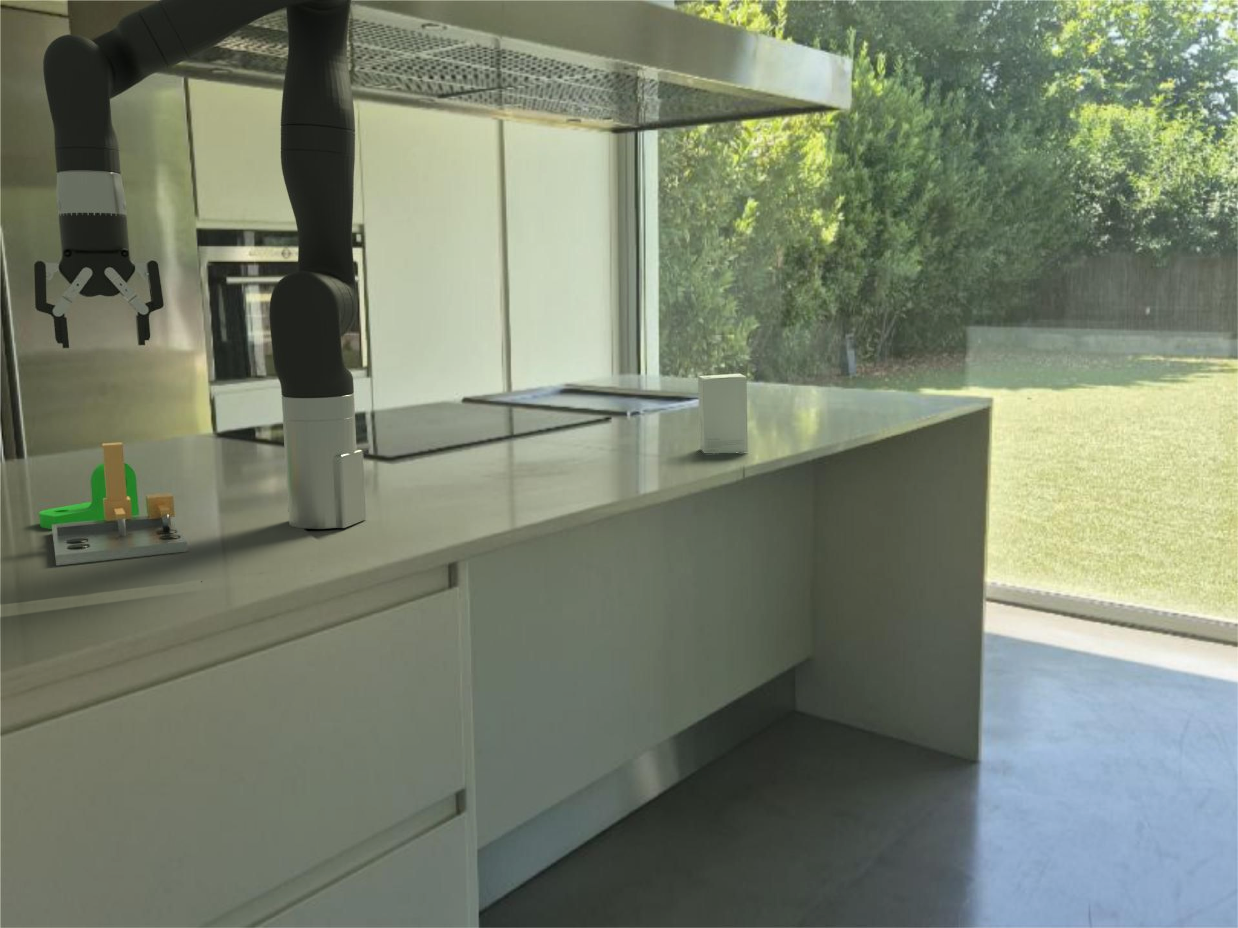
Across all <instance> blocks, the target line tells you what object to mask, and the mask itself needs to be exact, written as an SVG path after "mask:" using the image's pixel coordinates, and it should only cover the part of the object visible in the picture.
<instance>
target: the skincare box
mask: <svg viewBox="0 0 1238 928" xmlns="http://www.w3.org/2000/svg"><path fill="white" fill-rule="evenodd" d="M747 383H748V376H745V375H744V374H741V373H729V374H727V373H726V374H714V375H713V374H712V375H698V376H697V384H698V385H697V387H698V390H697V391H698V393H697V394H698V395H697V397H698V421H699V450H700V449H701V450H702V451H703V452H705V453H714V454H713V455H716V454H715V453H736V452H748V453H749V443H748V442H749V437H748V436H749V433H748V432H749V431H748V391H747V390H748V387H747V386H748V384H747ZM701 450H700V451H701ZM702 451H701V452H702ZM703 452H702V453H703Z"/></svg>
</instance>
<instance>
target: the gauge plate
mask: <svg viewBox="0 0 1238 928" xmlns="http://www.w3.org/2000/svg"><path fill="white" fill-rule="evenodd" d="M145 502H146V504H145V505H146V515H136V516H132V519H126V520H125V526H126V535H124V536H119V529H118V521H117V520H111V521H106V520H94V521H84V522H73V523H63V524H52V529H51V531H52V532H51V533H52V542H53V547H54V548H53V549H54V557H55V565H56V566H58V567H59V566H65V565H66V566H67V565H68V566H69V565H75V564H84V563H85V564H87V563H92V562H102V561H104V562H105V561H112V560H121V559H122V560H123V559H130V558H140V557H141V558H142V557H148V556H157V555H165V554H177V553H185V552H188V540H186V538H185V537H184V535H183V533H182V531H180V529H179V528H178V526H177V525H176V523H175V522H174V520H173V519H172V518H174V517H175V516H176V515H175V514H176V513H175V503H174V502H175V500H174V495H173V493H172V492H164V493H152V494H146V495H145Z"/></svg>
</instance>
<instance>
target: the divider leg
mask: <svg viewBox="0 0 1238 928" xmlns="http://www.w3.org/2000/svg"><path fill="white" fill-rule="evenodd" d="M123 445H124V444H123V443H122V441H121V442H109V443H108V442H107V443H101V447H102V459H103V462H104V473H105V485H106V497H107V498H103V504H104V516H105V520H106V521H111V520H117V521H118V529H119V536H124V535H126V526H125V520H126V519H132V517H133V516H132V511H131V499H130V498H129V496H127V494H126V481H125V469H124V463H125V459H124V446H123Z"/></svg>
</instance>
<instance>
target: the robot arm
mask: <svg viewBox="0 0 1238 928" xmlns="http://www.w3.org/2000/svg"><path fill="white" fill-rule="evenodd" d="M351 5H352V0H158V1H155V2H153V3H151V4H148V5H147V6H144V7H142V8H141V7H140V8H139V9H138V10H134V11H133V12H131V13H129V14H127V15H125V16H124V17H122V18H121V19H120V20H119V21H118V23H117V25H116V26H115V28H113V29H110V30H109V31H107V32H105V33H103V34H101V35H99V36H97V37H95V38H92V39H89V38H87V37H85V36H82V35H79V34H64V35H61V36H59V37H57V38H55V39H53V41H52V42H50V44H49V45H48V46H47V48H46V49H45V52H44V56H43V62H42V64H43V65H42V67H43V69H42V70H43V71H42V72H43V80H44V86H45V91H46V97H47V102H48V107H49V112H50V116H51V120H52V124H53V133H54V134H53V135H54V155H55V166H56V208H57V212H58V213H57V215H58V224H59V225H58V226H59V236H60V238H59V239H60V246H61V247H60V249H61V260H59V261H60V262H44V261H41V260H37V261H35V263H34V266H33V268H34V269H33V270H34V302H35V304H34V305H35V307H34V308H35V309H36V311H38V312H41V313H44V314H48V315H50V316H51V317H52V318H53V327H54V338H55V341H56V343H57V344H62V349H70V343H69V332H68V330H69V329H68V320H67V316H65V312H66V311H67V309H68V308H69V307H70V306H71V304H72V303H73V302H74V300H75V299H76V298H77V296H78V295H81V297H85V298H86V297H87V298H93V297H97V296H102V297H116V296H118V295H121V296H122V297H123V299H125V300H126V301H127V302H128V303H129V305H130V306H131V307H132V308H133V309H134V311H135V312H136V315H135V322H136V323H135V325H136V336H137V346H146V341H150V339H151V328H150V327H151V326H150V315H151V313H153V312H154V311H157V310H161V309H163V308H164V305H165V304H164V303H165V302H164V298H163V297H164V296H163V290H162V283H161V277H160V270H159V264H158V262H157V261H156V260H150V261H145V262H134V261H133V260H132V258H131V254H130V244H129V243H130V242H129V231H128V217H127V211H128V208H127V203H126V195H125V190H124V184H123V180H122V174H121V162H120V160H121V159H120V152H119V151H120V150H119V149H120V148H119V142H118V137H117V134H116V131H115V129H114V126H113V121H112V110H111V109H112V107H111V100H112V99H113V98H115V97H117V96H119V95H120V94H122V93H124V92H125V91H128V90H129V89H130V88H133V87H135V86H136V85H137V84H139V83H141V82H142V81H143V80H145V79H146V78H148V77H149V76H151V75H153V74H155V73H158V72H161V71H164V70H166V69H168V68H171V67H174V66H176V65H177V64H180V63H183V62H185V61H187V60H189V59H192V58H194V57H196V56H197V55H200V54H203V52H207V51H208V50H210V49H211V48H213V47H215V46H216V45H218V44H220V43H221V42H222V41H224V40H226V39H228V38H229V37H230V36H232V35H233V34H235V33H237V32H239V31H241V29H244V28H245V27H247V26H249V25H250V24H252V23H254V22H256V21H257V20H260V19H261V18H263V17H265V16H268V15H270V14H271V13H272V14H273V13H275V12H277V11H279V10H282V9H284V8H285V12H286V22H287V23H286V25H287V38H288V42H287V43H288V45H287V47H288V48H287V50H288V51H287V52H288V53H287V60H286V61H287V62H286V66H285V67H286V68H285V75H284V80H283V81H284V82H283V89H282V99H281V112H280V113H281V114H280V165H281V171H282V172H281V173H282V176H283V181H284V184H285V188H286V192H287V195H288V198H289V202H290V206H291V210H292V212H293V216H294V220H295V224H296V229H297V237H298V238H297V240H298V241H297V243H298V246H297V247H298V248H297V250H298V251H297V270H296V271H294V272H292V273H289V274H287V275H284V277H282V278H280V280H279V281H278V282H277V283H276V285H275V286H274V288H273V290H272V292H271V296H270V299H269V308H268V309H269V311H268V313H269V327H270V328H269V329H270V340H271V351H272V359H273V367H274V372H275V374H276V376H277V379H278V381H279V383H280V391H281V408H282V409H281V410H282V423H283V424H282V425H283V428H282V429H283V444H284V458H285V462H284V463H285V478H286V479H285V480H286V496H287V513H288V524H289V526H290V527H294V528H299V529H304V530H306V529H307V530H325V529H336V528H337V529H345V528H347V527H348V528H349V527H350V526H353V525H355V524H358V523H360V522H362V521H364V520H367V511H366V510H367V509H366V508H367V507H366V505H367V504H366V489H365V487H366V486H365V485H366V484H365V466H364V465H365V464H364V451H363V450H362V449H357V433H356V431H357V430H356V412H355V411H356V409H355V394H354V393H355V390H354V389H355V388H354V376H353V374H352V372H351V371H350V370H349V369H348V368H347V366H346V364H345V361H344V357H343V349H342V337H343V336H345V335H347V333H348V332H349V331H350V330H351V329H352V327H353V324H354V323H355V320H356V318H357V317H356V316H357V312H358V294H357V293H358V292H357V282H356V273H355V263H354V261H355V260H354V252H353V251H354V248H353V218H354V217H353V216H354V189H355V188H354V184H355V183H354V182H355V181H354V179H355V163H356V162H355V160H356V159H355V158H356V157H355V156H356V121H355V108H354V107H355V106H354V98H353V90H352V85H351V78H350V70H349V63H348V35H349V23H350V13H351ZM136 271H137V272H138V273H139V274H140V276H141V278H142V279H143V280H148V281H147V282H148V289H149V294H150V295H149V296H150V301H147V302H144V301H143V300H142V299H141V298H140V296H138V295H137V293H136V292H135V291H134V290H133V288H132V287H131V286H129V284H128V282H129V281H130V279H131V278H132V276H133V275H134V274H135V272H136ZM56 272H59V273H60V274H61V275H62V277H64V279H65V280H66V281H67V282H68V283H69V286H68V287H67V289H66V290H65V292H64V293H63V294H62V296H61V297H60V298H59V300H58V301H57V302H56V304H52V303H48V302H47V281H51V280H52V279H53V278H54V274H55V273H56Z"/></svg>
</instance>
